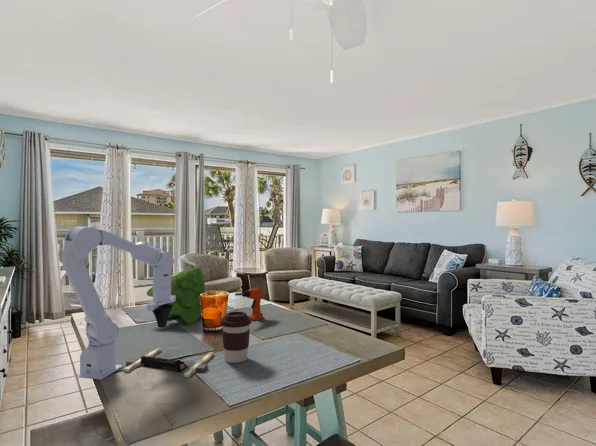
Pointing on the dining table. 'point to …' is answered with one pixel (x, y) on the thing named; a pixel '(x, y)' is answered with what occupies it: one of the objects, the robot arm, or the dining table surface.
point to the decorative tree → (186, 294)
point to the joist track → (136, 362)
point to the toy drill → (256, 296)
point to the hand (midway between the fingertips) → (162, 326)
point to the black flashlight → (163, 363)
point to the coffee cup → (235, 336)
